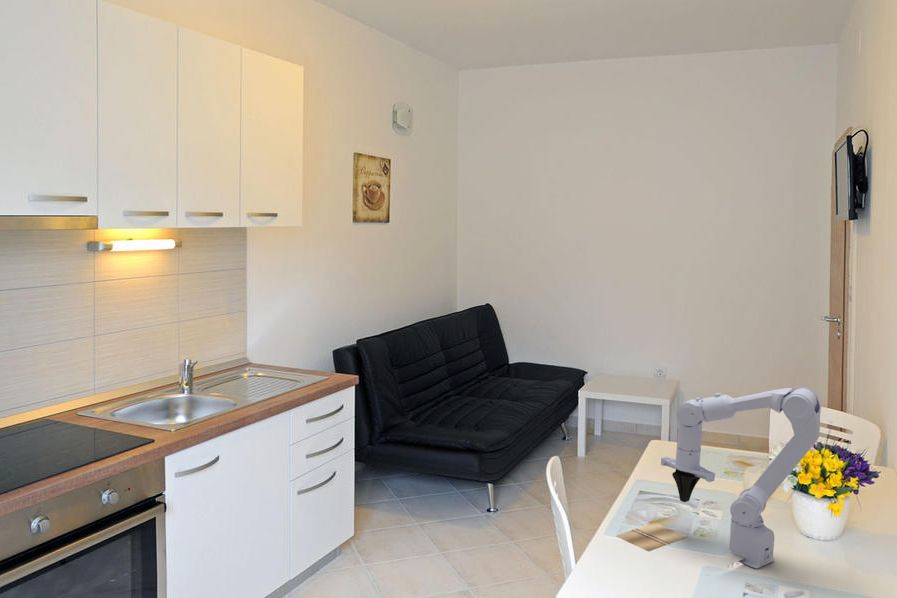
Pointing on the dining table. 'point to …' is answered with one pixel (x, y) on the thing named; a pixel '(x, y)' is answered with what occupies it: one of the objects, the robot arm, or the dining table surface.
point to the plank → (661, 533)
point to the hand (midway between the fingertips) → (684, 500)
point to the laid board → (641, 540)
